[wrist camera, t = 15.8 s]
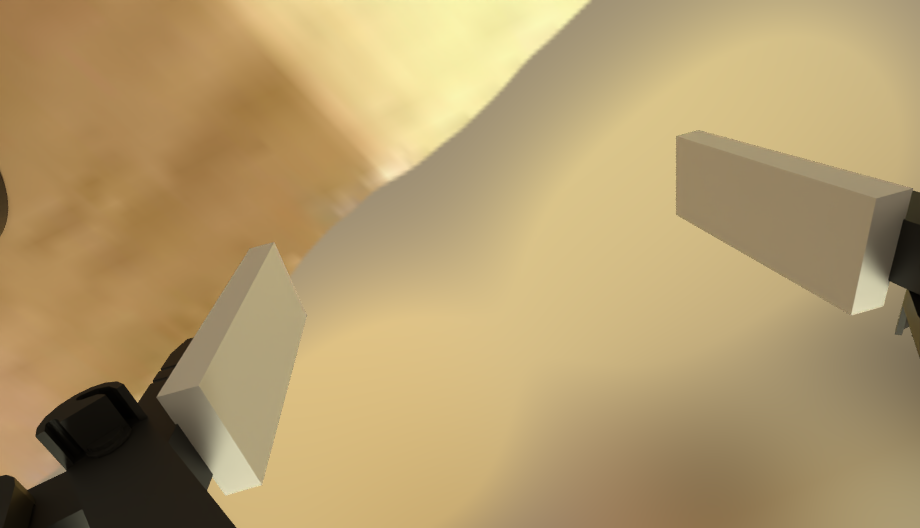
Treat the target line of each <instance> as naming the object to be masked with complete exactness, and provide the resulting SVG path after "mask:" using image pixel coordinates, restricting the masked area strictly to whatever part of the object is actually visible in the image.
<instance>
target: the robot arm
mask: <svg viewBox="0 0 920 528" xmlns="http://www.w3.org/2000/svg"><path fill="white" fill-rule="evenodd" d="M912 190H913V188H910V187H906V186H903V185H899V184H895V183H892V182H888V181H884V180H880V179H877V178H873V177H869V176H866V175H862V174H858V173H854V172H851V171H847V170H844V169H840V168H836V167H833V166H829V165H825V164H822V163H818V162H814V161H810V160H807V159H803V158H800V157H796V156H792V155H788V154H785V153H781V152H777V151H774V150H770V149H766V148H762V147H759V146H755V145H751V144H748V143H744V142H740V141H737V140H733V139H729V138H726V137H722V136H718V135H715V134H711V133H707V132H704V131H700V130H698V131H694V132H690V133H686V134H682V135H678V136H676V215H678V216H679V217H681V218H683V219H685V220H686V221H688V222H690V223H692V224H693V225H695V226H697V227H698V228H700V229H702V230H704V231H705V232H707V233H709V234H711V235H712V236H714V237H716V238H718V239H719V240H721V241H723V242H725V243H726V244H728V245H730V246H731V247H733V248H735V249H737V250H739V251H740V252H742V253H744V254H746V255H747V256H749V257H751V258H752V259H754V260H756V261H757V262H759V263H761V264H763V265H765V266H766V267H768V268H770V269H771V270H773V271H775V272H777V273H778V274H780V275H782V276H784V277H785V278H787V279H789V280H791V281H792V282H794V283H796V284H798V285H799V286H801V287H803V288H804V289H806V290H808V291H810V292H811V293H813V294H815V295H817V296H818V297H820V298H822V299H823V300H825V301H827V302H829V303H830V304H832V305H834V306H836V307H837V308H839V309H841V310H843V311H845V312H846V313H848V314H849V315H854V314H858V313H861V312H865V311H868V310H872V309H875V308H879V307H882V306H883V305H884V301H885V297H886V293H887V290H888V286H889V282H890V281H891V282H893V283H895V284H897V285H899V286H901V287H904V288H906V289H907V290H906V294H905V297H904V301H903V304H902V308H901V312H900V315H899V319H898V322H897V326H896V330H895V334H896V335H902V333H903V329H905V328H907V327H910V330H911V333H912V336H913V339H914V342H915V345H916V348H917V351H918V354H919V357H920V192H916V191H912ZM7 215H8V200H7V193H6V189H5V186H4V182H3V180H2V177H1V174H0V236H1V234H2V232H3V230H4V228H5V224H6V221H7ZM306 317H307V314H306V312H305V310H304V307H303V305H302V303H301V301H300V298H299V296H298V294H297V292H296V289H295V287H294V285H293V283H292V281H291V278H290V276H289V274H288V272H287V269H286V267H285V265H284V263H283V261H282V258H281V256H280V254H279V252H278V249H277V247H276V245H275V243H274V242H273V243H269V244H265V245H261V246H258V247H254V248H250V249H249V251H248V252H247V254H246V255H245V257H244V259H243V260H242V262H241V263H240V265H239V266H238V268H237V270H236V271H235V273H234V274H233V276H232V278H231V279H230V281H229V282H228V284H227V286H226V287H225V289H224V290H223V292H222V294H221V295H220V297H219V298H218V300H217V301H216V303H215V305H214V306H213V308H212V309H211V311H210V313H209V314H208V316H207V317H206V319H205V321H204V322H203V324H202V325H201V327H200V328H199V330H198V332H197V333H196V335H195V336H194V338H190V339H187V340H186V341H185V342H184V343H182V344H181V345H180V346H179V347H178V348H177V349H176V350H175V351H173V352H172V353H171V354H170V356H169V357H168V359H167V360H166V362H165V363H164V365H163V366H162V368H161V371H159V372H158V374H157V375H156V377H155V378H154V380H153V383H152V384H150V386H149V387H148V388H147V390H146V391H145V393H144V394H143V396H142V397H141V399H140V400H139V402H138V403H137V402H136V400H135V399H134V398H133V396H132V395H131V393H130V392H129V391H128V389H127V388H126V387H125V385H124V384H122V383H119V382H107V383H103V384H100V385H97V386H94V387H91V388H89V389H87V390H85V391H83V392H81V393H79V394H77V395H74V396H73V397H71V398H70V399H68V400H67V401H65V402H64V403H62V404H61V405H59V406H58V407H57V408H55V409H54V410H53V411H52V412H51V413H50V414H48V415H47V416H46V417H45V418H44V419H43V421H42V422H41V423H40V425H39V426H38V427H37V430H36V438H37V439H38V440H39V441H40V442H41V443H42V444H43V445H44V446H45V447H46V448H47V450H48V451H49V452H50V453H51V454H52V455H53V456H54V457H55V458H56V459H57V460H58V462H59V463H60V464H61V465H62V466H63V467H64V468H65V469H66V472H64V473H62V474H60V475H58V476H56V477H54V478H52V479H50V480H47V481H45V482H43V483H41V484H39V485H37V486H35V487H33V488H31V489H29V490H26V489H25V488H24V487H23V486H22V485H21V484H20V483H19V482H18V481H17V480H16V479H15V478H14V477H11V476H8V475H4V476H0V528H236V527H235V525H234V524H233V523H232V522H231V521H230V519H229V518H228V517H227V515H226V514H225V513H224V512H223V510H222V509H221V508H220V507H219V505H218V504H217V503H216V502H215V501H214V499H213V498H212V497H211V496H210V494H209V493H208V492H207V489H208V486H209V484H210V481H211V479H212V477H213V479H214V480H215V481H216V483H217V484H218V486H219V487H220V489H221V490H222V491H223V493H224V494H225V495H229V494H232V493H236V492H239V491H242V490H246V489H250V488H253V487H257V486H260V485H262V483H263V479H264V476H265V472H266V468H267V464H268V460H269V456H270V453H271V449H272V445H273V441H274V438H275V434H276V430H277V426H278V423H279V419H280V415H281V411H282V407H283V403H284V400H285V396H286V392H287V388H288V385H289V381H290V377H291V373H292V370H293V366H294V362H295V358H296V355H297V350H298V347H299V343H300V339H301V336H302V332H303V328H304V324H305V320H306Z"/></svg>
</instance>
